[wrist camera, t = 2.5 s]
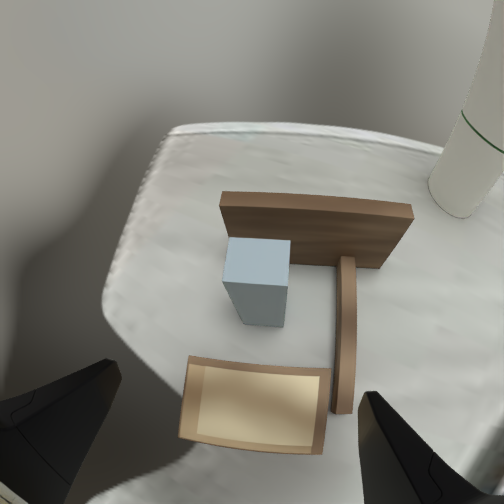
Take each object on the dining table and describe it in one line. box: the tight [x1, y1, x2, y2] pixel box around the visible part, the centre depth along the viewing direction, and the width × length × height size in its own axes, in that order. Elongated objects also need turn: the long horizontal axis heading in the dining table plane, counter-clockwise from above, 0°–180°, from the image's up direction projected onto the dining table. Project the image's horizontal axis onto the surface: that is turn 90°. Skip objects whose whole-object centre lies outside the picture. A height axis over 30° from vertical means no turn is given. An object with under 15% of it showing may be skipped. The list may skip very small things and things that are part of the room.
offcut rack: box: [178, 191, 414, 455], centre depth 17 cm, size 17×16×8 cm
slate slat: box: [222, 237, 290, 327], centre depth 18 cm, size 2×3×10 cm
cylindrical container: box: [428, 0, 504, 218], centre depth 15 cm, size 7×7×25 cm
